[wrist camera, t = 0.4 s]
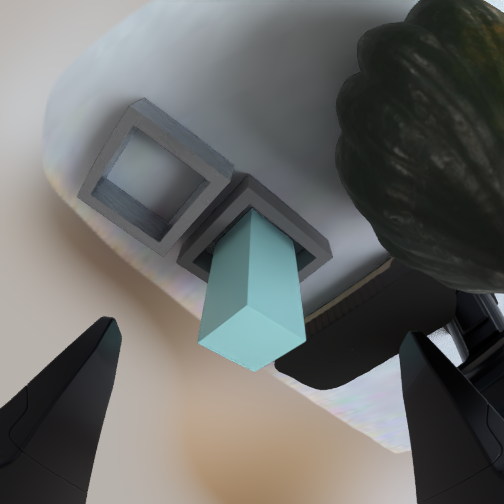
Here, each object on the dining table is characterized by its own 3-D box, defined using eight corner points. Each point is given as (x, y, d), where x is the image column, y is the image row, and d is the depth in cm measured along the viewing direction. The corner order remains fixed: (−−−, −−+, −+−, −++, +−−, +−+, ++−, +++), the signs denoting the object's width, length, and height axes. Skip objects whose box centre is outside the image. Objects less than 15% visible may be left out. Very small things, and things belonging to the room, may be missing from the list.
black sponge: (319, 366, 33) (323, 395, 30) (265, 333, 30) (266, 365, 27) (450, 285, 26) (465, 312, 23) (414, 230, 23) (433, 259, 20)
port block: (234, 165, 20) (230, 181, 18) (171, 235, 23) (163, 256, 21) (144, 97, 17) (129, 105, 15) (92, 180, 21) (76, 196, 19)
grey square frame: (328, 240, 23) (332, 257, 22) (257, 296, 27) (257, 314, 25) (249, 173, 20) (248, 186, 19) (181, 245, 24) (176, 262, 22)
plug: (293, 241, 23) (306, 340, 16) (256, 272, 25) (254, 371, 18) (251, 208, 22) (247, 304, 15) (215, 244, 24) (197, 343, 16)
